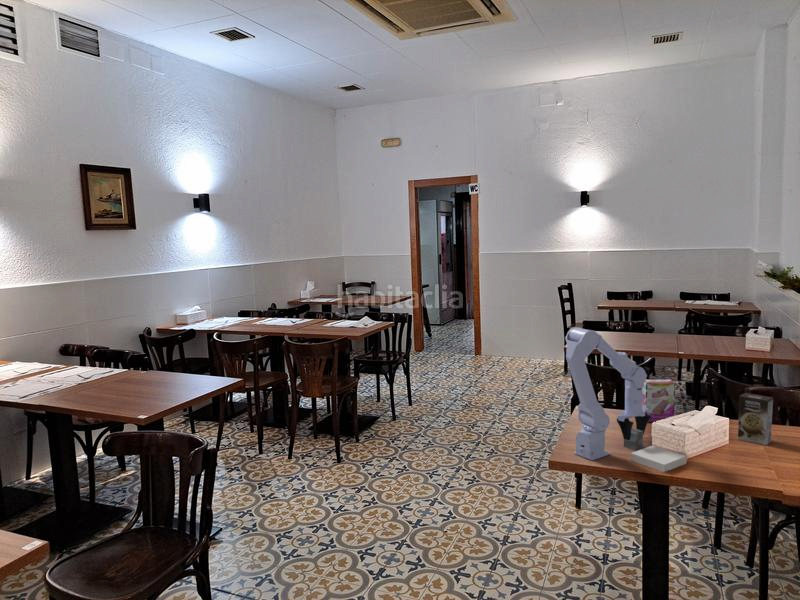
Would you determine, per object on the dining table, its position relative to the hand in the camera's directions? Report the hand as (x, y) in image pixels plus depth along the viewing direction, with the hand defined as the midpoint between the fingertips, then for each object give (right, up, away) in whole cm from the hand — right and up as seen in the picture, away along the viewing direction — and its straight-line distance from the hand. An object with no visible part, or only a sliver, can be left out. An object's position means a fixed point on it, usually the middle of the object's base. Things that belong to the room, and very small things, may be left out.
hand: (633, 436), depth 198 cm
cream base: (+3, -5, -13) cm, 14 cm away
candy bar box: (+21, 0, +27) cm, 34 cm away
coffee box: (+44, -2, +3) cm, 44 cm away
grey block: (0, -4, 0) cm, 4 cm away
